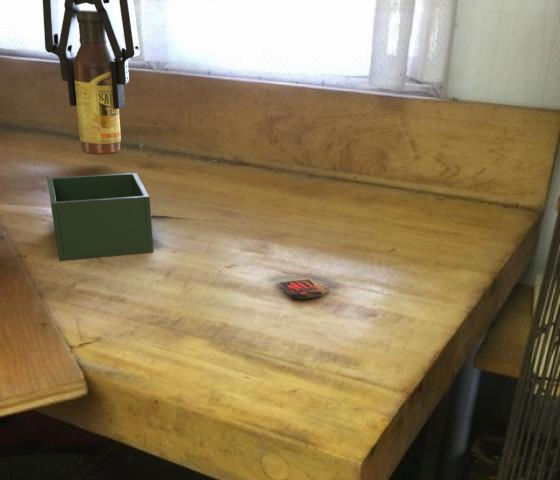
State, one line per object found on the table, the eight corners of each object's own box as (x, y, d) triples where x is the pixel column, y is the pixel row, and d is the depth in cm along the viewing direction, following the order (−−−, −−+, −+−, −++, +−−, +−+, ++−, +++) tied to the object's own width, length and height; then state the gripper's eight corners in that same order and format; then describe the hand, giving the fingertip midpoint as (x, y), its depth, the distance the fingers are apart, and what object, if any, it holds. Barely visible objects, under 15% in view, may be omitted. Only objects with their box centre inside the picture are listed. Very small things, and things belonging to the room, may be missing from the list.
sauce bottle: (109, 158, 107) (96, 12, 97) (73, 154, 108) (57, 10, 98) (129, 149, 112) (119, 10, 102) (94, 145, 114) (81, 8, 103)
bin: (59, 260, 79) (50, 203, 76) (54, 230, 88) (47, 177, 84) (153, 252, 82) (149, 196, 79) (140, 223, 91) (136, 172, 87)
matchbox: (299, 303, 70) (299, 299, 70) (270, 286, 74) (270, 282, 73) (335, 293, 73) (335, 289, 72) (305, 277, 76) (305, 273, 76)
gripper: (1, -77, 93) (26, 105, 104) (140, -72, 90) (150, 114, 102) (27, -75, 99) (48, 97, 111) (158, -70, 97) (165, 105, 109)
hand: (97, 105), depth 107 cm, fingers closed on sauce bottle, 6 cm apart
